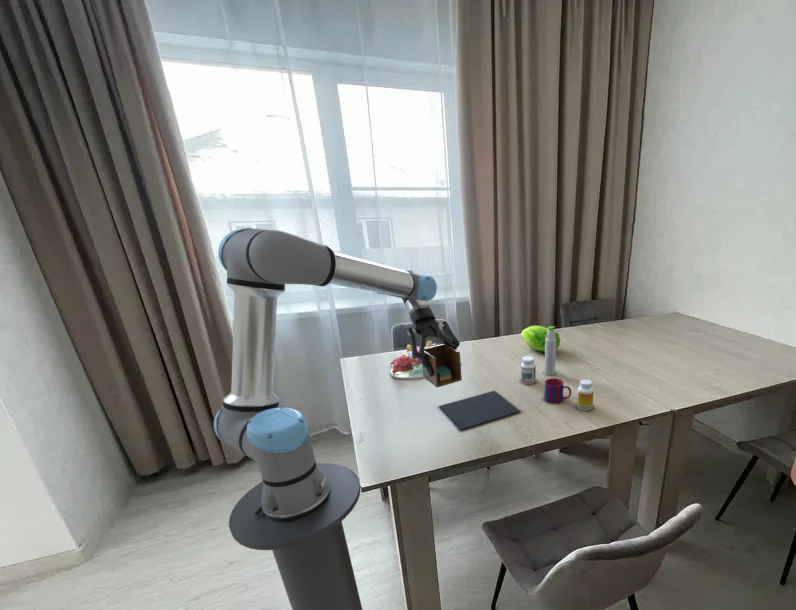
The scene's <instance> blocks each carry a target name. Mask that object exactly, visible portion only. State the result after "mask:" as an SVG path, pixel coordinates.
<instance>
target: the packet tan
mask: <svg viewBox="0 0 796 610" xmlns="http://www.w3.org/2000/svg"><path fill="white" fill-rule="evenodd" d="M437 376H438V375H437ZM450 378H451V374H450V375H446V376H443V377H439V376H438V380H439V381H443V380H446V379H450Z"/></svg>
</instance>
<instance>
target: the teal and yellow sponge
mask: <svg viewBox="0 0 796 610" xmlns="http://www.w3.org/2000/svg"><path fill="white" fill-rule="evenodd" d="M450 374H451V370H449V369H448V368H446V367H445V366H441V367H437V375H438V376H439V377H443V376H446V375H450Z"/></svg>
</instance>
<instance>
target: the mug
mask: <svg viewBox="0 0 796 610" xmlns="http://www.w3.org/2000/svg"><path fill="white" fill-rule="evenodd" d="M564 383H565V382H564V380H562V379H560V378H556V377H551V378H547V379H545V380H544V393H543V394H544V398H543V399H544V401H545V402H547V403H549V404H559V403H561V402H563V400H568V399H570V397H571V396H572V389H571V387H570V386H568V385H564ZM564 389H567V390H568V392H569V394H568V396H567V397H564Z"/></svg>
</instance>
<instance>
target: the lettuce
mask: <svg viewBox="0 0 796 610" xmlns="http://www.w3.org/2000/svg"><path fill="white" fill-rule="evenodd" d="M547 330H548V327H546V326H542V325H530V326H528V327H526V328H524V329H522V331H521V332H520V336H521V338H522V339H523V341H524V342H525V343H526V344H527V346H528V347H529V348H531V349H533V350H534V351H536V352H539V353H540V352H541V353H545V339H546V338H547ZM555 338H556V350H558V349H559V347H560V345H561V338H560V334H559V333H558V332H556V331H555Z"/></svg>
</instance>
